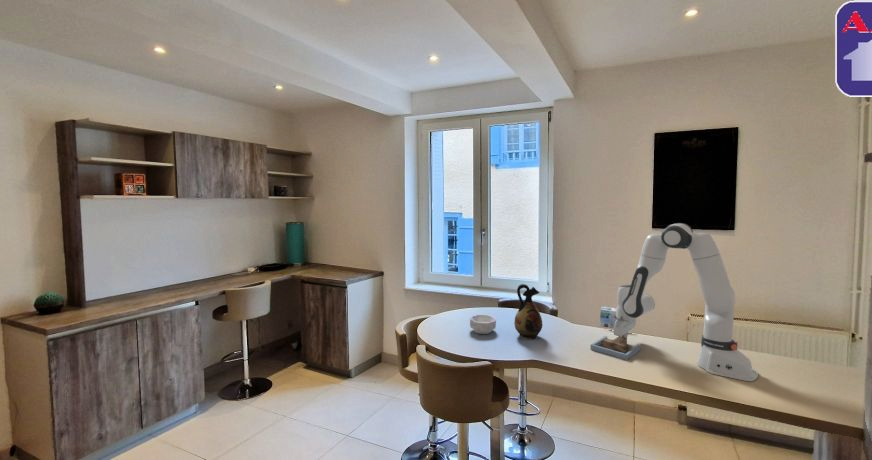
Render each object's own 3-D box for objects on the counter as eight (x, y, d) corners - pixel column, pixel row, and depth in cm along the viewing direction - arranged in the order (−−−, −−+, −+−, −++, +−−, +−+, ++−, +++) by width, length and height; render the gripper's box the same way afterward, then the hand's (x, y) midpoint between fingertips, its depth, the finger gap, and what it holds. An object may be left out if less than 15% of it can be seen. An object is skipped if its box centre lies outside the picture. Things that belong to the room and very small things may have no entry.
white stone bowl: (497, 335, 229) (497, 322, 228) (470, 336, 230) (470, 322, 229) (494, 326, 244) (494, 314, 244) (469, 326, 245) (469, 314, 244)
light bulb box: (599, 326, 242) (600, 309, 241) (600, 323, 248) (601, 306, 247) (618, 329, 237) (619, 311, 236) (619, 325, 243) (620, 308, 242)
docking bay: (640, 350, 207) (640, 345, 207) (626, 360, 195) (627, 355, 195) (604, 340, 220) (605, 336, 220) (590, 349, 209) (590, 344, 208)
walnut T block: (634, 347, 211) (634, 340, 210) (625, 354, 202) (625, 346, 202) (611, 341, 219) (612, 334, 219) (601, 347, 211) (602, 340, 211)
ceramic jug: (539, 331, 235) (540, 281, 231) (544, 342, 219) (545, 288, 216) (510, 331, 236) (510, 281, 233) (512, 341, 221) (513, 288, 218)
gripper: (623, 320, 205) (622, 346, 206) (638, 311, 219) (637, 336, 220) (610, 317, 209) (609, 343, 211) (626, 309, 223) (625, 333, 225)
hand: (624, 339), depth 216 cm, fingers closed
